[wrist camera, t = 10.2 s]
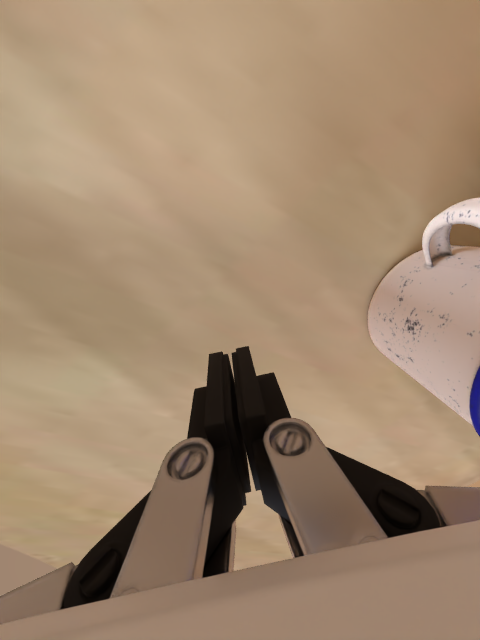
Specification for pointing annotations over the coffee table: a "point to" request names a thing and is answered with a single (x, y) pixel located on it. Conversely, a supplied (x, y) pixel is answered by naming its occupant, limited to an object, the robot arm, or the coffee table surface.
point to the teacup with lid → (435, 314)
